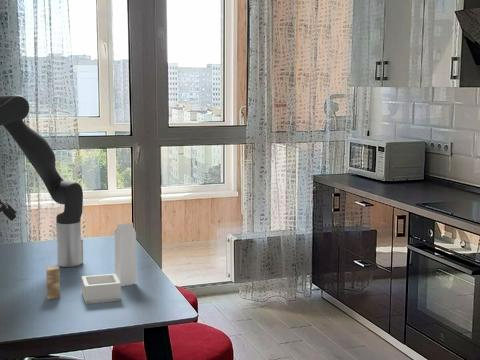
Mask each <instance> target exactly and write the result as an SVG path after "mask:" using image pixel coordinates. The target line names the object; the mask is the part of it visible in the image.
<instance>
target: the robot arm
mask: <svg viewBox="0 0 480 360" xmlns="http://www.w3.org/2000/svg"><path fill="white" fill-rule="evenodd" d="M29 113H30V104H29V102H28V100H27V98H26V97H24V96H23V95H19V94H1V95H0V127H1V126H3V127H4V128H5V130H6V131H7V132H8V133H9V135H11V137H12V139H13V140H14V141H15V143H16V144H17V146H18V147H19V149H20V150H21V151H22V152H23V155H24V156H25V157H26V158H27V160H28V162H29V163H30V164H31V166H32V168H33V169H34V170H35V171H36V173H37V175H38V176H39V178H40V179H41V181H42V182H43V183H44V186H45V187H46V189H47V192H48V194H49V195H50V197H51V199H52V200H53V202H55V203H57V204H58V205H63V206H64V207H63V209H64V210H63V212H61V213H58V214H57V215H56V217H55V220H56V223H55V225H56V255H57V257H56V259H57V262H56V264H57V265H56V266H59V267H62V268H72V267H74V268H75V267H77V266H81V264H83V263H84V240H83V239H82V226H81V223H82V222H81V218H82V215H83V208H84V207H83V202H84V201H83V200H84V195H83V194H84V192H83V187H82V185H81V184H80V183H78V182H76V181H75V182H74V181H69V180H68V181H66V180H64V179H63V178H62V177H61V176H60V174H59V173H58V170H57V169H56V154H55V151H54V150H53V149H52V147H51V146H50V145H49V142H48V141H47V140H46V139H45V138H44V137H43V136H42V135H40V133H38V132H37V131H35V130H34V129H33V128H31V127H30V126H29V125H28V124H26V122H24V119H26V118H27V116H28V115H29ZM0 213H2V214H3V215H4V216H5V217H7V218H8V220H9V221H13V220H14V219H15V218H17V215H16V214H17V211H16V209H14V208H13V207H12V206H11V205H10V204H9V202H8V200H7V199H6V198H5V196H3V195H2V194H1V193H0Z"/></svg>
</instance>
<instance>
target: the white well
mask: <svg viewBox="0 0 480 360" xmlns="http://www.w3.org/2000/svg"><path fill="white" fill-rule="evenodd" d="M81 295H82V298H83V301H84V304H85V305H91V304H100V303H101V304H102V303H110V302H111V303H112V302H113V303H114V302H121V301H122V286H121V283H120V281H119V279H118V277H117V276H116V274H115V273H106V274H93V275H81Z"/></svg>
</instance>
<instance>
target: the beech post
mask: <svg viewBox="0 0 480 360" xmlns="http://www.w3.org/2000/svg"><path fill="white" fill-rule="evenodd" d="M45 271H46V278H45V279H46V297H47V300H53V299H55V300H56V299H61V283H60V280H61V279H60V278H61V277H60V276H61V275H60V266H58V265H51V266H46V267H45Z"/></svg>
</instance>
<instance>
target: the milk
mask: <svg viewBox="0 0 480 360" xmlns="http://www.w3.org/2000/svg"><path fill="white" fill-rule="evenodd" d="M114 274H116V276H117V277H118V279H119V281H120V283H121V287H127V286H132V285H133V284H134V285H137V233H136V230H135V228H134V223H133V222H124V223H117V224H116V228H115V230H114ZM126 285H127V286H126ZM134 285H133V286H134Z"/></svg>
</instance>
